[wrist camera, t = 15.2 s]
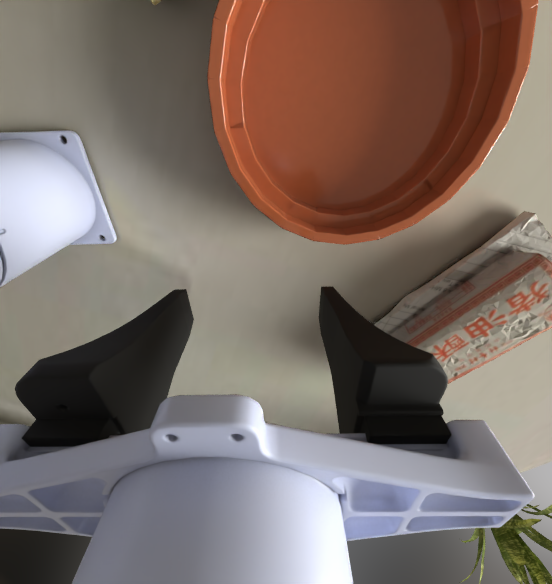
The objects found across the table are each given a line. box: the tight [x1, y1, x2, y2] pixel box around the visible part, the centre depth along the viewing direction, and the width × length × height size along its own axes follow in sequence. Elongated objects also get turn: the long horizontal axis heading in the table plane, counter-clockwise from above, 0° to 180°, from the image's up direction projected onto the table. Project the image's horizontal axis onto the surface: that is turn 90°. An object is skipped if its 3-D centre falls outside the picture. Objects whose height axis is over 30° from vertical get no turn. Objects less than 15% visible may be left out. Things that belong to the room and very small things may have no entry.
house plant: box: [462, 504, 552, 584], centre depth 32 cm, size 14×14×16 cm
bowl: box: [207, 0, 538, 244], centre depth 16 cm, size 16×16×4 cm
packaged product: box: [374, 211, 552, 384], centre depth 24 cm, size 18×5×10 cm
